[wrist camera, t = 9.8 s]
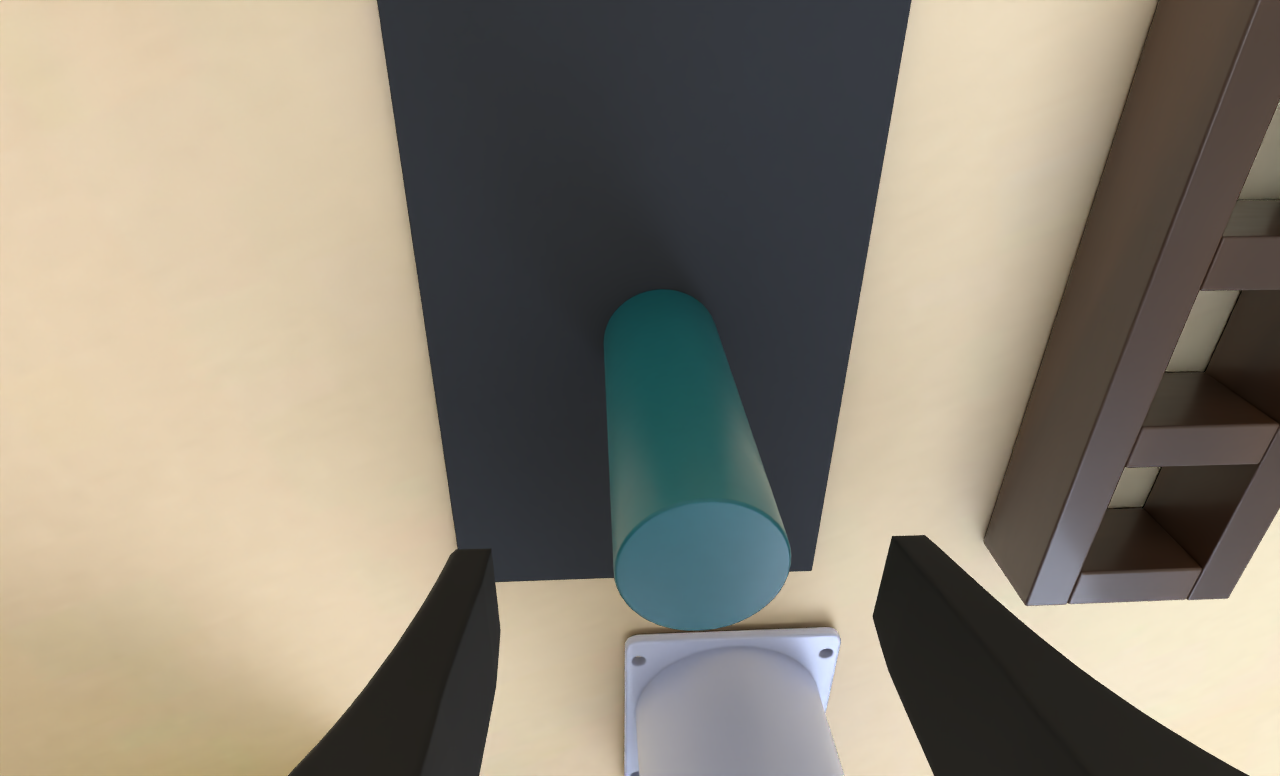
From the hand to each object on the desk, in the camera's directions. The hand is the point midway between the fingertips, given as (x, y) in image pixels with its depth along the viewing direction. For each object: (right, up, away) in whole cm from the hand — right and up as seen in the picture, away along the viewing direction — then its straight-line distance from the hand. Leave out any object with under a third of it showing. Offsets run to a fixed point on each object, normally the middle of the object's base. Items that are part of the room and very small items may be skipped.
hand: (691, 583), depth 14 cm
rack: (+15, +6, +9) cm, 18 cm away
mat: (-1, +5, +8) cm, 9 cm away
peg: (0, +5, +8) cm, 9 cm away
